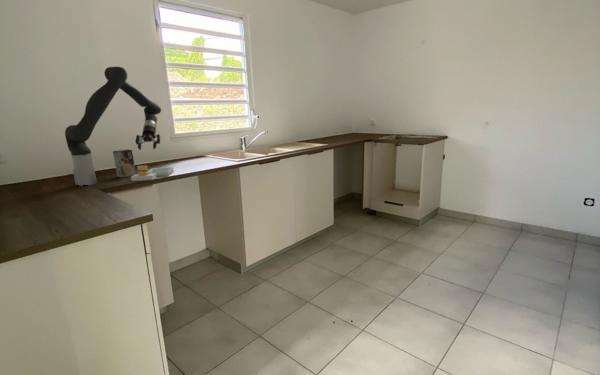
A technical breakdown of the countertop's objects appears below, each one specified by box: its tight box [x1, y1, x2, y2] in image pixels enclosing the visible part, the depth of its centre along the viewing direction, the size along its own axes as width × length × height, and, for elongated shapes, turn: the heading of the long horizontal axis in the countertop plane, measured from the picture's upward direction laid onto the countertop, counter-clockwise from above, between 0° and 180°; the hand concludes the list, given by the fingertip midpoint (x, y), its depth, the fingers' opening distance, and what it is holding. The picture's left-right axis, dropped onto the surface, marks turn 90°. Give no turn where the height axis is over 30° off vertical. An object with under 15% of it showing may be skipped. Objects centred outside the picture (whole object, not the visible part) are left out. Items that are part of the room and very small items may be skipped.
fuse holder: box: [130, 173, 157, 182], centre depth 193 cm, size 12×7×2 cm, turn 97°
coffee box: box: [112, 149, 137, 178], centre depth 203 cm, size 9×6×16 cm
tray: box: [148, 166, 174, 178], centre depth 206 cm, size 13×13×3 cm
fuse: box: [136, 165, 149, 176], centre depth 193 cm, size 5×2×8 cm, turn 98°
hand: (146, 148), depth 202 cm, fingers open, 8 cm apart
